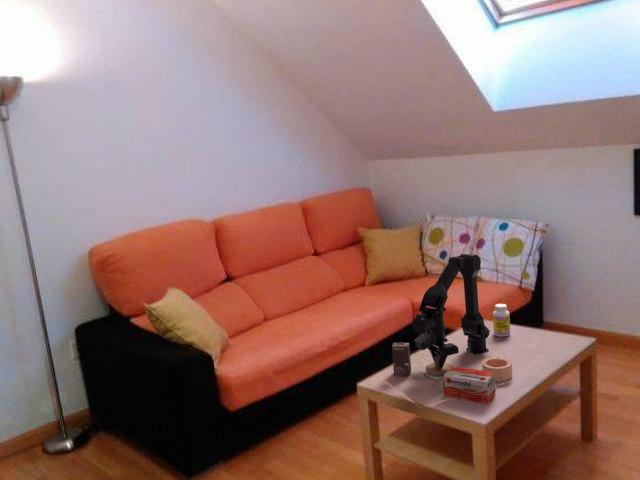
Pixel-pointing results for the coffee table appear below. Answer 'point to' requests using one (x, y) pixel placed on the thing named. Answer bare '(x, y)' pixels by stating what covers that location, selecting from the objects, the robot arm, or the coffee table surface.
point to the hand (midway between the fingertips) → (438, 365)
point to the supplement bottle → (501, 320)
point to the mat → (433, 375)
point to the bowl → (498, 368)
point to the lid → (438, 368)
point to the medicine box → (469, 384)
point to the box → (401, 359)
